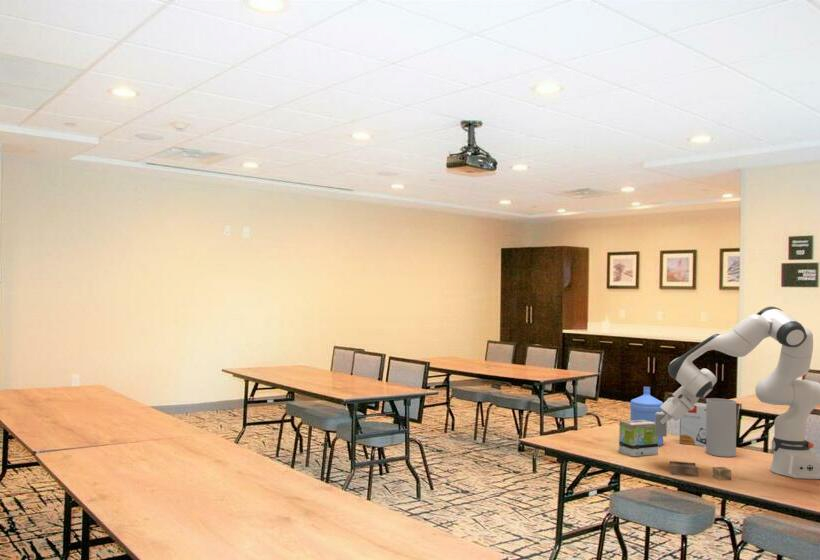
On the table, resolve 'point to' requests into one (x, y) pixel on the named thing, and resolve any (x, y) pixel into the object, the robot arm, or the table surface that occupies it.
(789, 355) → the robot arm
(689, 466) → the stand
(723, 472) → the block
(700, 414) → the hard drive box
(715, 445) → the cylinder vase
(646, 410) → the water jug
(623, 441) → the tea box
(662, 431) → the block
